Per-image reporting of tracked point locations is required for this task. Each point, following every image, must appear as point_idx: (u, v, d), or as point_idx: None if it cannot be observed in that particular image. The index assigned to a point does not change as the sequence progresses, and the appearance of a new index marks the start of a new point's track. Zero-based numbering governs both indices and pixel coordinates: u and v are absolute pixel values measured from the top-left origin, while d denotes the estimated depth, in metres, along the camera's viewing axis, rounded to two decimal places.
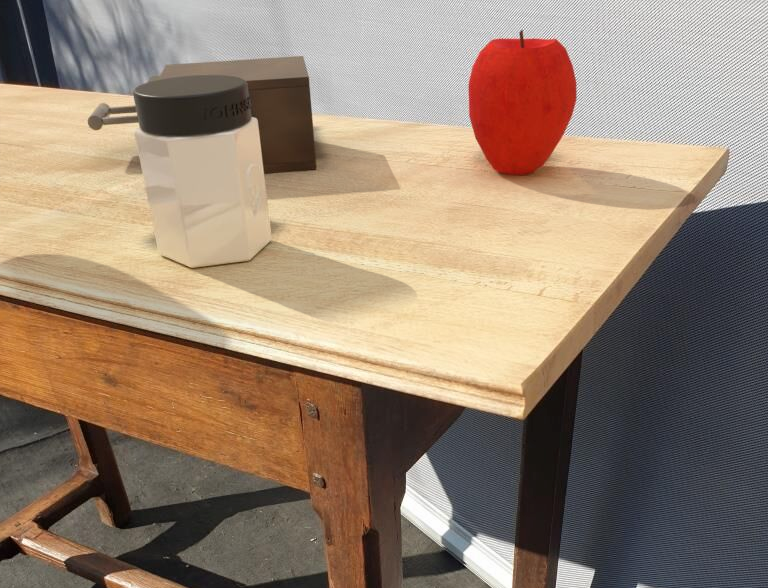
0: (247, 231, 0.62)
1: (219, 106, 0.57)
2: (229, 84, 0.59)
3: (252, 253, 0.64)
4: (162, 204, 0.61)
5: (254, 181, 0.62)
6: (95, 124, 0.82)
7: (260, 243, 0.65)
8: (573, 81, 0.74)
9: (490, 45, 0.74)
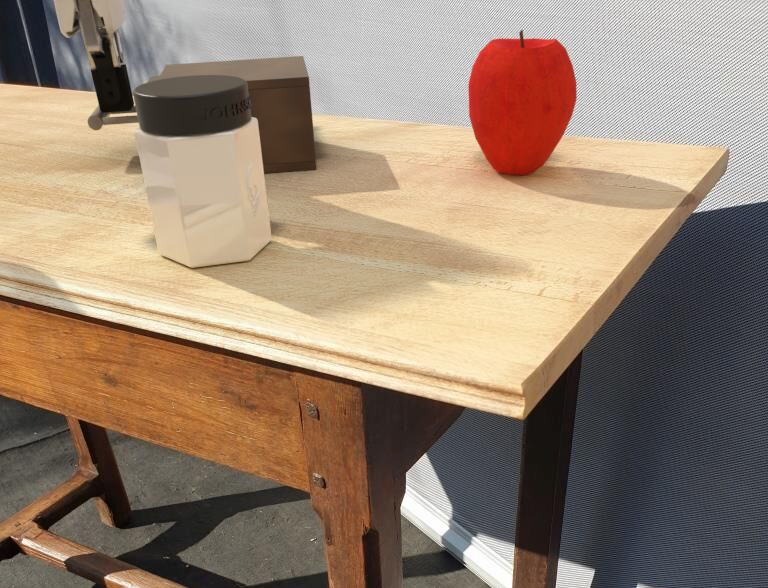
0: (247, 231, 0.62)
1: (219, 106, 0.57)
2: (229, 84, 0.59)
3: (252, 253, 0.64)
4: (162, 204, 0.61)
5: (254, 181, 0.62)
6: (95, 124, 0.82)
7: (260, 243, 0.65)
8: (573, 81, 0.74)
9: (490, 45, 0.74)
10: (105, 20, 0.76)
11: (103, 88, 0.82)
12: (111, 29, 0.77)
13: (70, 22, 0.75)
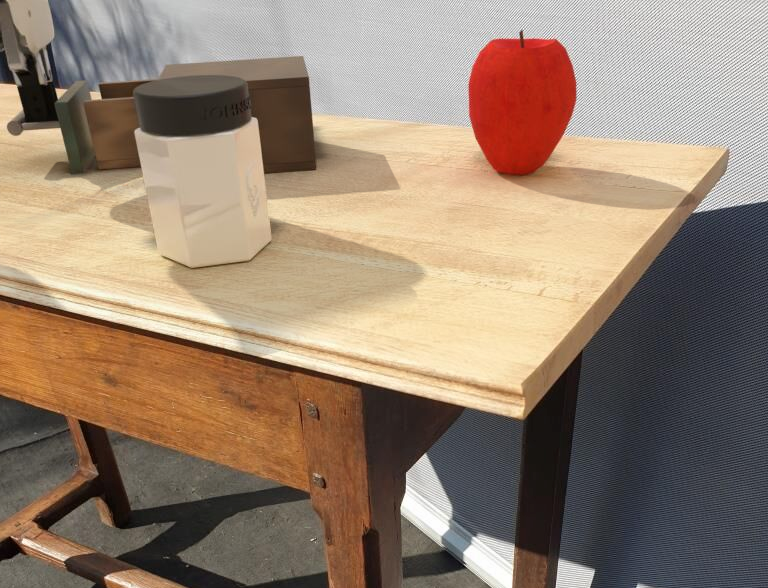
0: (247, 231, 0.62)
1: (219, 106, 0.57)
2: (229, 84, 0.59)
3: (252, 253, 0.64)
4: (162, 204, 0.61)
5: (254, 181, 0.62)
6: (14, 130, 0.81)
7: (260, 243, 0.65)
8: (573, 81, 0.74)
9: (490, 45, 0.74)
10: (27, 39, 0.76)
11: (30, 105, 0.82)
12: (34, 47, 0.77)
13: None
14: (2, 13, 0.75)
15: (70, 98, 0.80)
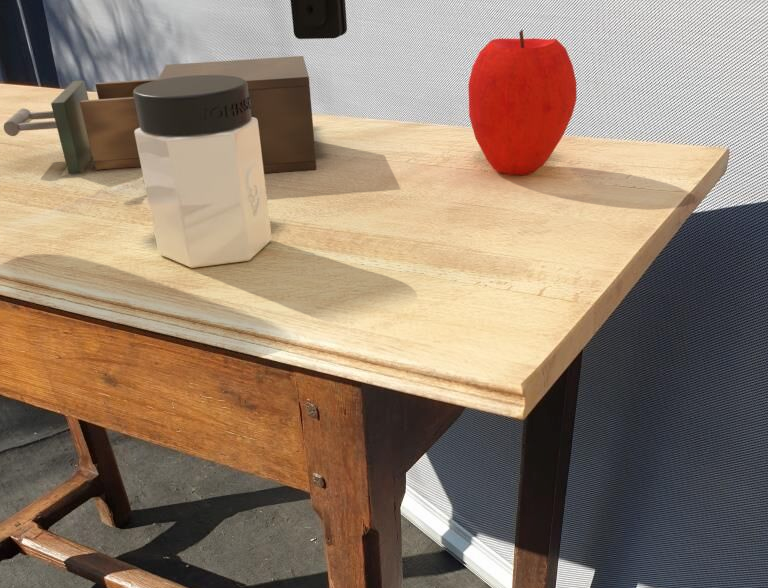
0: (247, 231, 0.62)
1: (219, 106, 0.57)
2: (229, 84, 0.59)
3: (252, 253, 0.64)
4: (162, 204, 0.61)
5: (254, 181, 0.62)
6: (11, 130, 0.81)
7: (260, 243, 0.65)
8: (573, 81, 0.74)
9: (490, 45, 0.74)
10: None
11: None
12: None
13: None
14: None
15: (67, 98, 0.80)
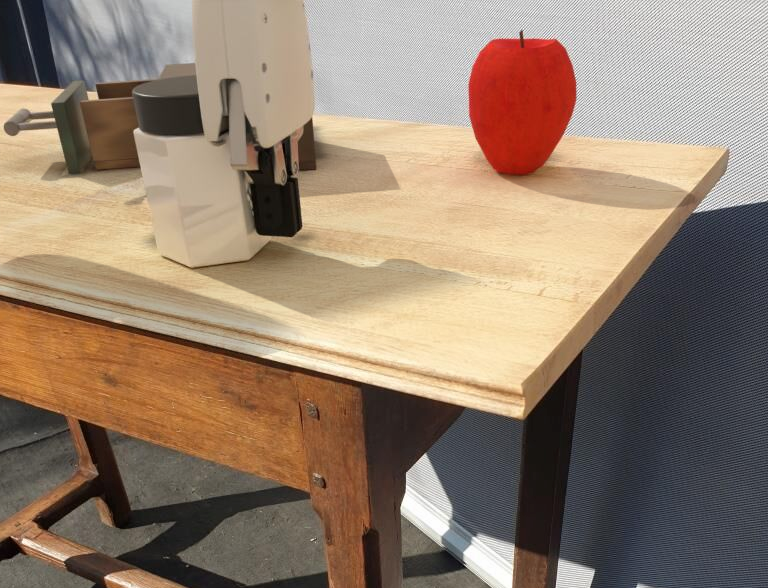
0: (246, 230, 0.62)
1: None
2: None
3: (252, 253, 0.64)
4: (161, 204, 0.61)
5: None
6: (11, 130, 0.81)
7: (259, 243, 0.65)
8: (573, 81, 0.74)
9: (490, 45, 0.74)
10: (259, 132, 0.55)
11: (260, 208, 0.61)
12: (267, 142, 0.56)
13: (215, 130, 0.55)
14: (233, 95, 0.54)
15: (67, 98, 0.80)
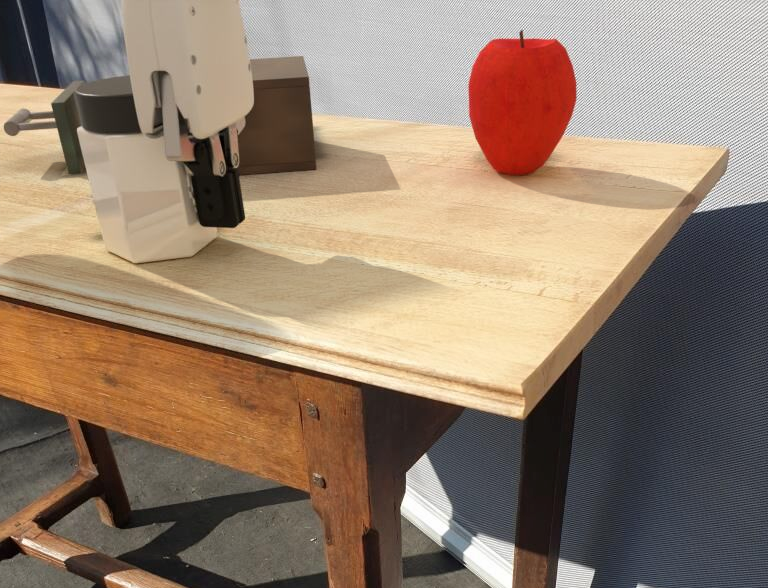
0: (189, 227, 0.63)
1: None
2: None
3: (195, 249, 0.65)
4: (105, 201, 0.63)
5: None
6: (11, 130, 0.81)
7: (204, 239, 0.66)
8: (573, 81, 0.74)
9: (490, 45, 0.74)
10: (191, 123, 0.56)
11: (201, 199, 0.62)
12: (201, 133, 0.57)
13: (149, 122, 0.56)
14: (165, 88, 0.55)
15: (67, 98, 0.80)
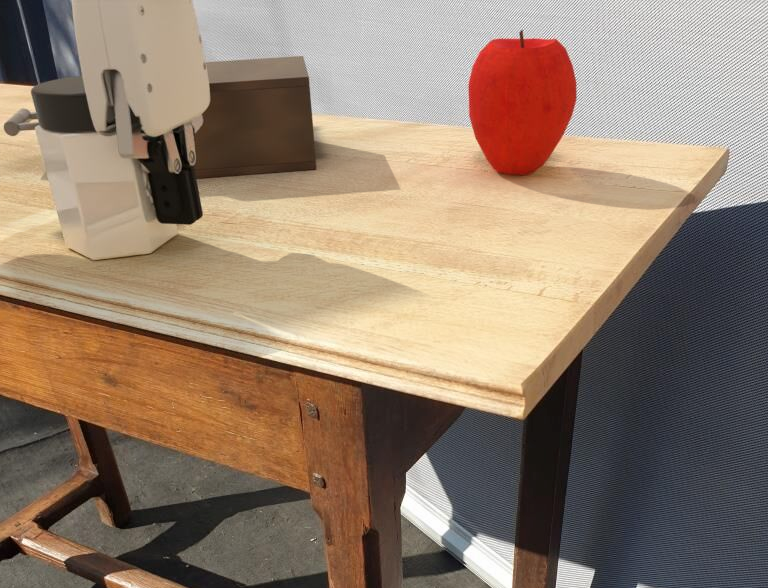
0: (146, 225, 0.64)
1: None
2: None
3: (154, 246, 0.66)
4: (63, 198, 0.64)
5: None
6: (11, 130, 0.81)
7: (163, 237, 0.67)
8: (573, 81, 0.74)
9: (490, 45, 0.74)
10: (142, 121, 0.57)
11: (158, 196, 0.63)
12: (153, 131, 0.57)
13: (102, 120, 0.57)
14: (117, 86, 0.56)
15: None
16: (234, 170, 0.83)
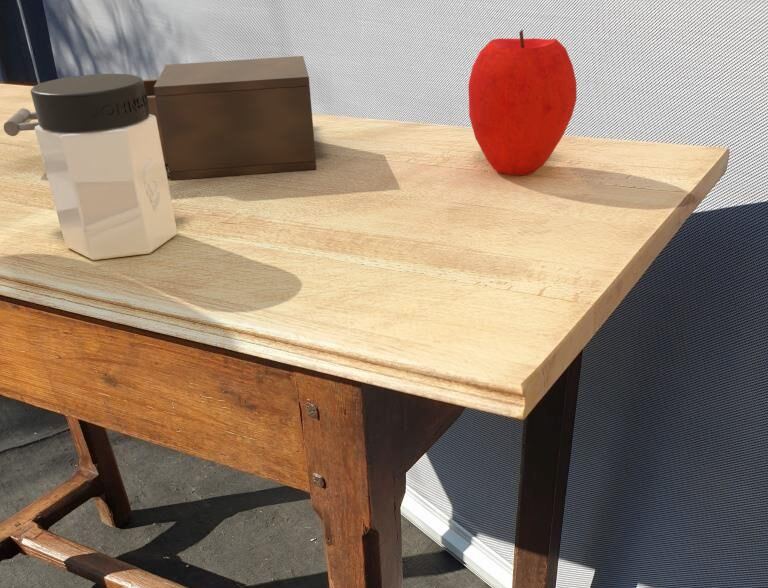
0: (146, 225, 0.64)
1: (110, 104, 0.59)
2: (123, 83, 0.61)
3: (153, 246, 0.66)
4: (63, 198, 0.64)
5: (152, 176, 0.64)
6: (11, 130, 0.81)
7: (162, 237, 0.67)
8: (573, 81, 0.74)
9: (490, 45, 0.74)
10: None
11: None
12: None
13: None
14: None
15: None
16: (234, 170, 0.83)
